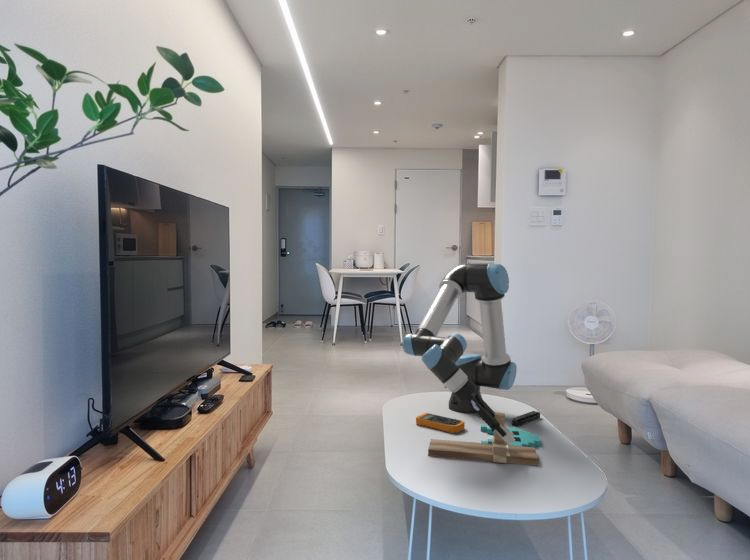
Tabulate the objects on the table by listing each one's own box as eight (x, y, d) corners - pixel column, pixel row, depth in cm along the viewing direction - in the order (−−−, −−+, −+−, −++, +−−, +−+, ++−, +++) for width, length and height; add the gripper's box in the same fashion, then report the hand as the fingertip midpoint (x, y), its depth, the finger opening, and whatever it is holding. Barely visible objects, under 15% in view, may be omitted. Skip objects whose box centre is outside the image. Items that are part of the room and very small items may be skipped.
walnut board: (430, 444, 170) (430, 438, 170) (534, 453, 163) (534, 447, 163) (428, 455, 160) (428, 449, 160) (538, 465, 153) (538, 458, 153)
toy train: (534, 417, 205) (534, 410, 205) (540, 418, 203) (540, 411, 203) (511, 426, 193) (511, 418, 193) (517, 427, 191) (517, 420, 191)
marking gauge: (492, 450, 165) (492, 410, 164) (504, 451, 164) (505, 411, 163) (493, 462, 155) (494, 419, 154) (506, 463, 154) (507, 420, 153)
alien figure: (481, 449, 168) (543, 454, 164) (481, 442, 167) (543, 448, 163) (480, 430, 187) (536, 435, 183) (480, 424, 187) (536, 429, 183)
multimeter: (455, 435, 181) (455, 426, 181) (414, 425, 192) (414, 416, 192) (466, 429, 188) (466, 420, 187) (426, 420, 199) (426, 411, 199)
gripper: (453, 387, 171) (501, 438, 168) (450, 399, 155) (504, 457, 152) (469, 372, 170) (518, 424, 167) (468, 384, 154) (522, 441, 151)
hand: (511, 440), depth 159 cm, fingers open, 3 cm apart
